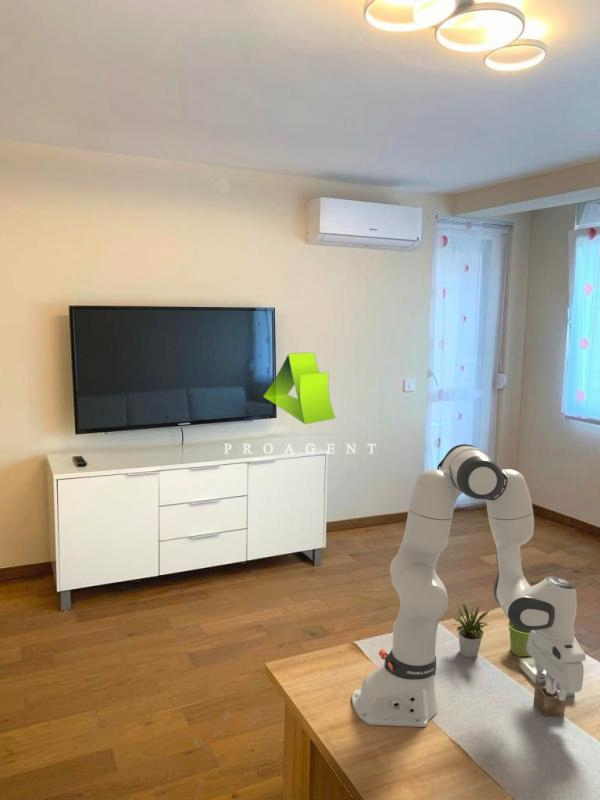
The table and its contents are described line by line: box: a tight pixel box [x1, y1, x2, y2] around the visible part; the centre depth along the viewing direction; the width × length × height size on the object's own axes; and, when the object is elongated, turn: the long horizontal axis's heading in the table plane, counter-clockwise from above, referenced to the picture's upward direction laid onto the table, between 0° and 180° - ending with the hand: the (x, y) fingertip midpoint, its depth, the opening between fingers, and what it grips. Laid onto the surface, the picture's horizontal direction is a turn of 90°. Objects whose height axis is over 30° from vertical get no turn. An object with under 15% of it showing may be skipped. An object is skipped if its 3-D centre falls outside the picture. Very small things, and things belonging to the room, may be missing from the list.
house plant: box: [449, 599, 494, 658], centre depth 194 cm, size 14×14×16 cm
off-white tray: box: [518, 657, 546, 684], centre depth 185 cm, size 11×9×2 cm
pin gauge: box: [545, 675, 556, 697], centre depth 167 cm, size 2×2×9 cm
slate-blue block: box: [544, 672, 576, 697], centre depth 176 cm, size 6×6×5 cm
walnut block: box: [533, 685, 567, 718], centre depth 167 cm, size 6×6×5 cm
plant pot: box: [507, 619, 531, 658], centre depth 196 cm, size 9×9×9 cm
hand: (550, 688), depth 167 cm, fingers open, 8 cm apart
